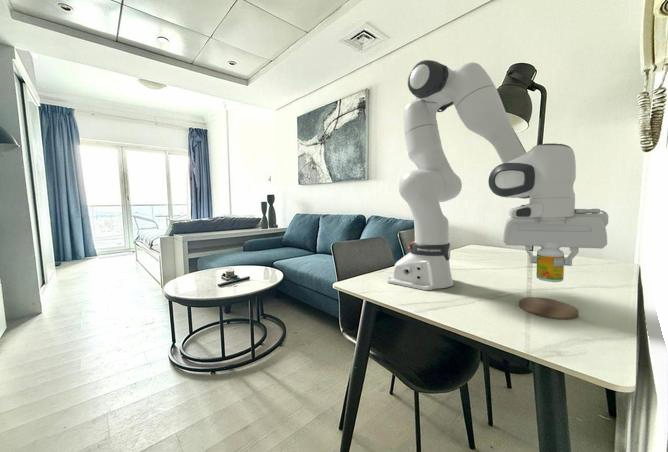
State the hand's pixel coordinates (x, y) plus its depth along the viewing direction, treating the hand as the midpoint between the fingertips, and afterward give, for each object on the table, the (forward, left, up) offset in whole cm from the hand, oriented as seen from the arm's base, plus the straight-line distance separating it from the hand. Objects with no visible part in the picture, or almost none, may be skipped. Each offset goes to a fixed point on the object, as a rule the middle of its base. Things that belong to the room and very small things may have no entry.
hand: (549, 264), depth 69 cm
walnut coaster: (0, 0, -12) cm, 12 cm away
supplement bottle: (0, 0, -4) cm, 4 cm away
